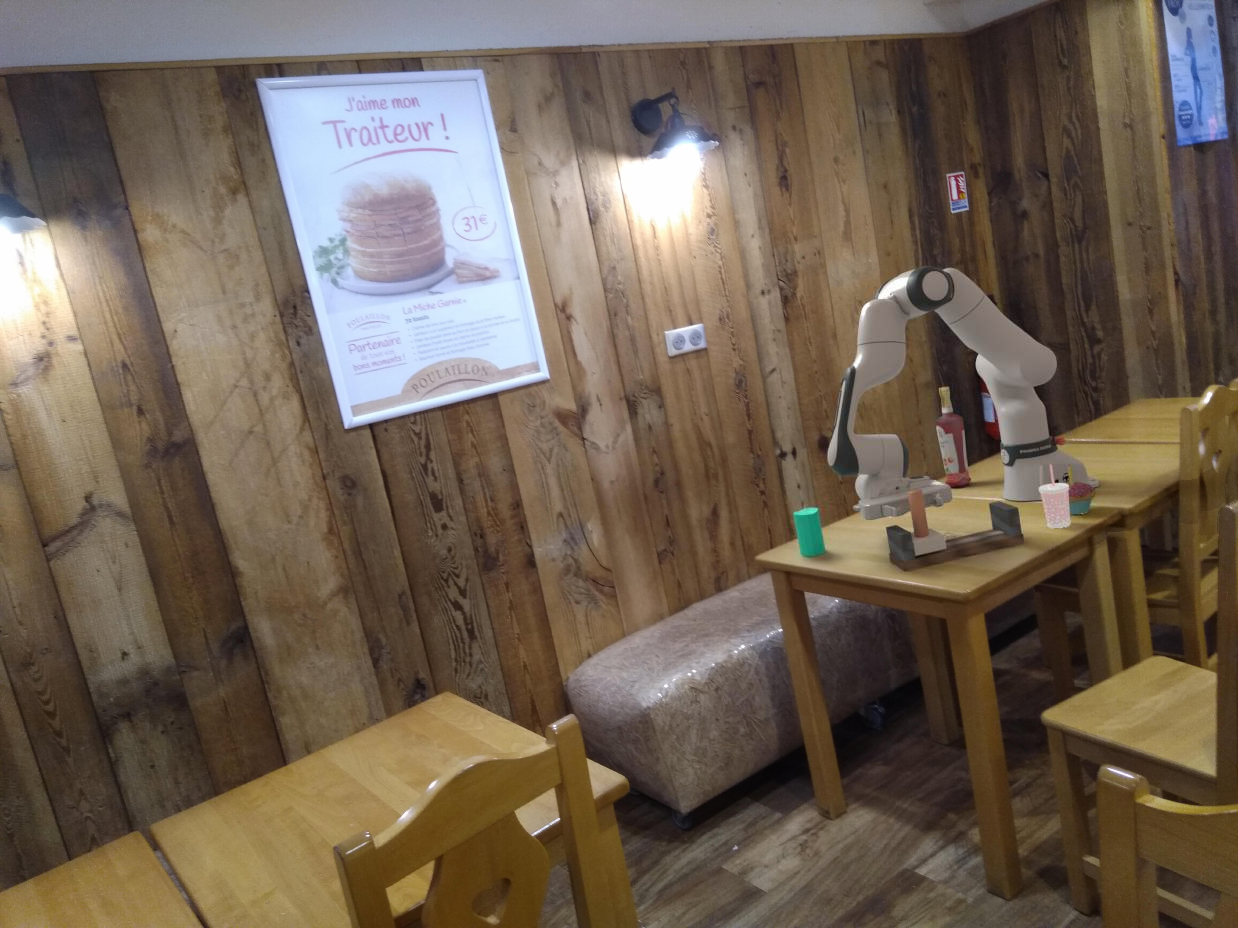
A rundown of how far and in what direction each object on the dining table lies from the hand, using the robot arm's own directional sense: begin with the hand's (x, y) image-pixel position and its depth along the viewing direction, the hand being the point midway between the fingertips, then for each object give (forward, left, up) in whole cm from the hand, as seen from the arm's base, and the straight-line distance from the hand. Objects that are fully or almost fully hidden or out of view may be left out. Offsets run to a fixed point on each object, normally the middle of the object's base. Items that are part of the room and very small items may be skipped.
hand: (919, 507), depth 194 cm
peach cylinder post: (0, -1, -9) cm, 9 cm away
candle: (+18, -25, -12) cm, 33 cm away
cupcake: (-40, -9, -12) cm, 43 cm away
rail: (-7, -1, -12) cm, 14 cm away
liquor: (-34, -55, -12) cm, 66 cm away
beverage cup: (-32, -3, -12) cm, 34 cm away
